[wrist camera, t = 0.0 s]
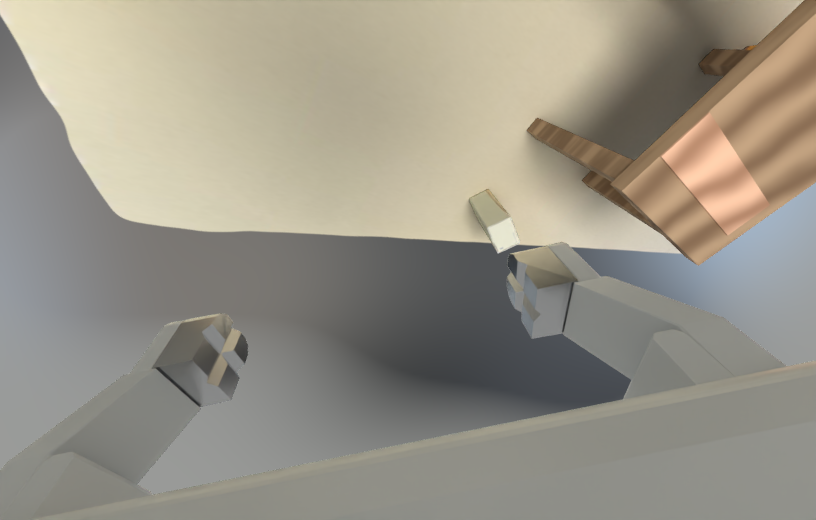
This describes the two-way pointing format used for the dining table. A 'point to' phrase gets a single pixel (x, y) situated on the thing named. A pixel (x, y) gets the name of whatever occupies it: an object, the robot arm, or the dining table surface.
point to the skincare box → (494, 221)
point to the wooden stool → (719, 146)
